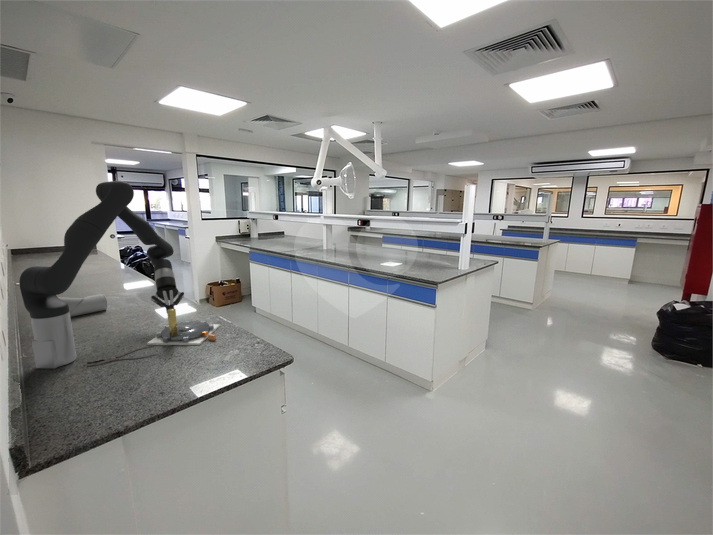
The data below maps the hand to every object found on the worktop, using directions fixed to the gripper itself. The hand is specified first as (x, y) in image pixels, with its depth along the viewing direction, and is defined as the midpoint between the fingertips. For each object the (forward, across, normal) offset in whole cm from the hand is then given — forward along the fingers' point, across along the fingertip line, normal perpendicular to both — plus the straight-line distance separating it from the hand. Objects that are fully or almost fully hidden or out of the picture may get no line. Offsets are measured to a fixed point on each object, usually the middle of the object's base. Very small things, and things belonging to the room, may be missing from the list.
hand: (171, 313), depth 130 cm
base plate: (+11, +6, +1) cm, 13 cm away
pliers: (+19, -17, -6) cm, 26 cm away
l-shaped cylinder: (-31, -35, +43) cm, 63 cm away
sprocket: (+10, +4, +1) cm, 11 cm away
